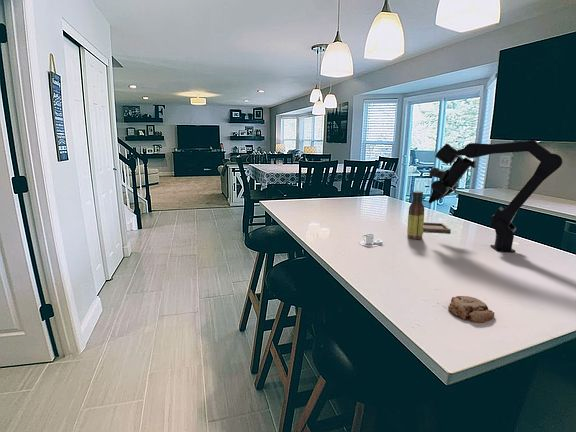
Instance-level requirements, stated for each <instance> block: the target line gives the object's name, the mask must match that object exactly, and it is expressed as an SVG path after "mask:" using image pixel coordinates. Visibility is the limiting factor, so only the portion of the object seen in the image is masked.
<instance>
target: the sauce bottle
mask: <svg viewBox="0 0 576 432" xmlns="http://www.w3.org/2000/svg"><path fill="white" fill-rule="evenodd" d="M411 193H412V200H411V203H410V205H409V207H408V216H407V217H408V218H407V230H406V231H407V237H408V238H409V239H410V240H421V239H423V235H424V231H423V225H424V222H425V206H424V203H423V196H424V192H423V191H419V190H414V191H412V192H411Z"/></svg>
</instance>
